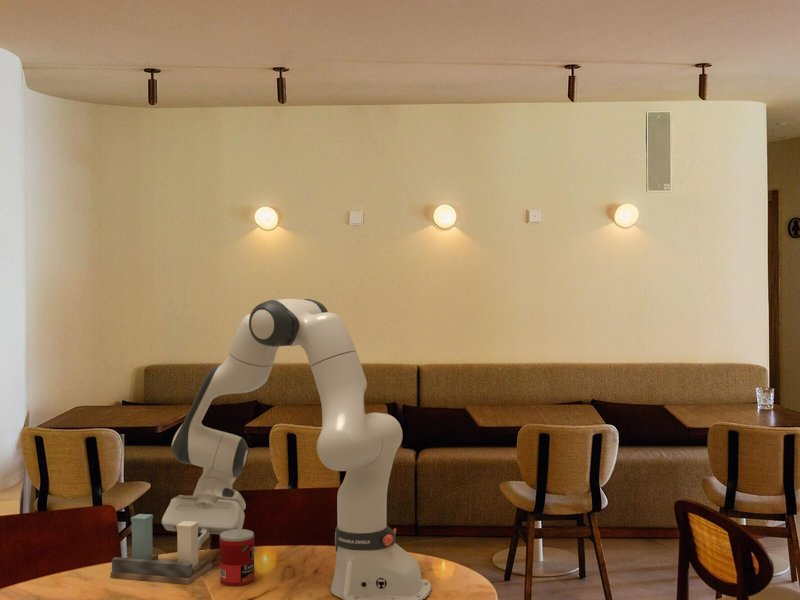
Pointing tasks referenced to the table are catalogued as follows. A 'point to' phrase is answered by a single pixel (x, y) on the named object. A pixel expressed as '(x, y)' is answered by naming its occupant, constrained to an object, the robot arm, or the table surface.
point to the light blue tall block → (142, 536)
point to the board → (159, 578)
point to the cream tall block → (187, 542)
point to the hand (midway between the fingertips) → (192, 547)
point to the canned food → (237, 557)
